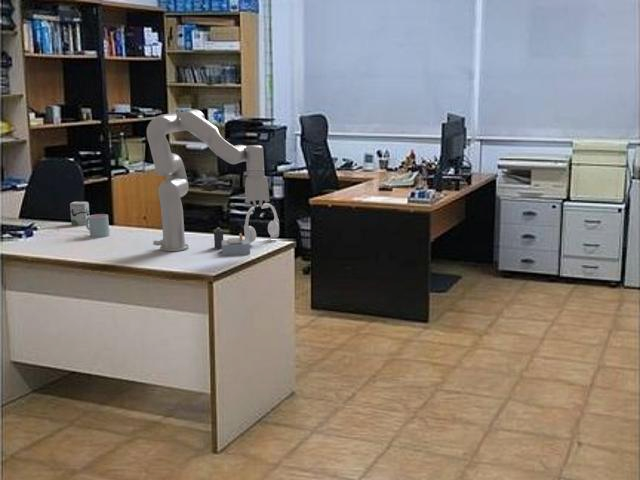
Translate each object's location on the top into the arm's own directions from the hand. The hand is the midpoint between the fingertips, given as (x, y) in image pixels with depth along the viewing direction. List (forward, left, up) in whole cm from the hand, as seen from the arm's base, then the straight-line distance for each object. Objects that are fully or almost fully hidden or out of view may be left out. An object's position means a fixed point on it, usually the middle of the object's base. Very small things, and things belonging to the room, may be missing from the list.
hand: (258, 215), depth 361 cm
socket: (-10, 0, -16) cm, 19 cm away
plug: (-17, +11, -16) cm, 26 cm away
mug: (-76, +55, -16) cm, 96 cm away
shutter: (-10, 0, -11) cm, 15 cm away
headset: (+3, +19, -16) cm, 25 cm away
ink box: (-88, +88, -16) cm, 126 cm away
